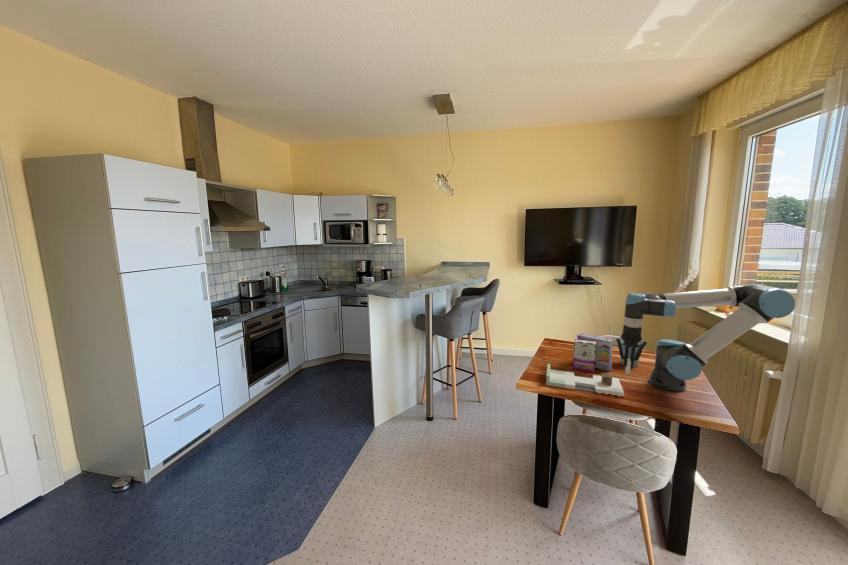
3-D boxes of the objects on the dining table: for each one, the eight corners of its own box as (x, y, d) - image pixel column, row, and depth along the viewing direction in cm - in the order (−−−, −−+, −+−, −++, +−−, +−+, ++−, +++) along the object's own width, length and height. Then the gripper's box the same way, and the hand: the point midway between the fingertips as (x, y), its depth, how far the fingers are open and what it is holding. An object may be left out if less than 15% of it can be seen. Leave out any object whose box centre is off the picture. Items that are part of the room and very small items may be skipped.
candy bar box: (594, 369, 191) (596, 341, 188) (594, 372, 186) (596, 344, 184) (573, 365, 196) (574, 338, 193) (572, 369, 192) (574, 341, 189)
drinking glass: (643, 367, 193) (645, 347, 191) (624, 367, 193) (626, 347, 191) (632, 361, 203) (634, 341, 201) (615, 360, 203) (617, 341, 201)
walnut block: (610, 382, 170) (611, 374, 170) (611, 385, 167) (612, 378, 166) (601, 381, 172) (602, 373, 171) (602, 384, 168) (602, 376, 168)
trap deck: (618, 382, 175) (619, 373, 174) (623, 396, 160) (624, 386, 159) (547, 372, 187) (547, 363, 186) (546, 385, 172) (546, 375, 171)
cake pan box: (573, 362, 201) (575, 333, 198) (577, 360, 205) (579, 331, 202) (608, 372, 187) (610, 341, 184) (611, 369, 190) (614, 339, 188)
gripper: (618, 326, 160) (613, 373, 164) (650, 329, 155) (644, 378, 159) (615, 322, 167) (611, 367, 171) (646, 325, 162) (641, 371, 166)
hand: (627, 372), depth 165 cm, fingers closed
